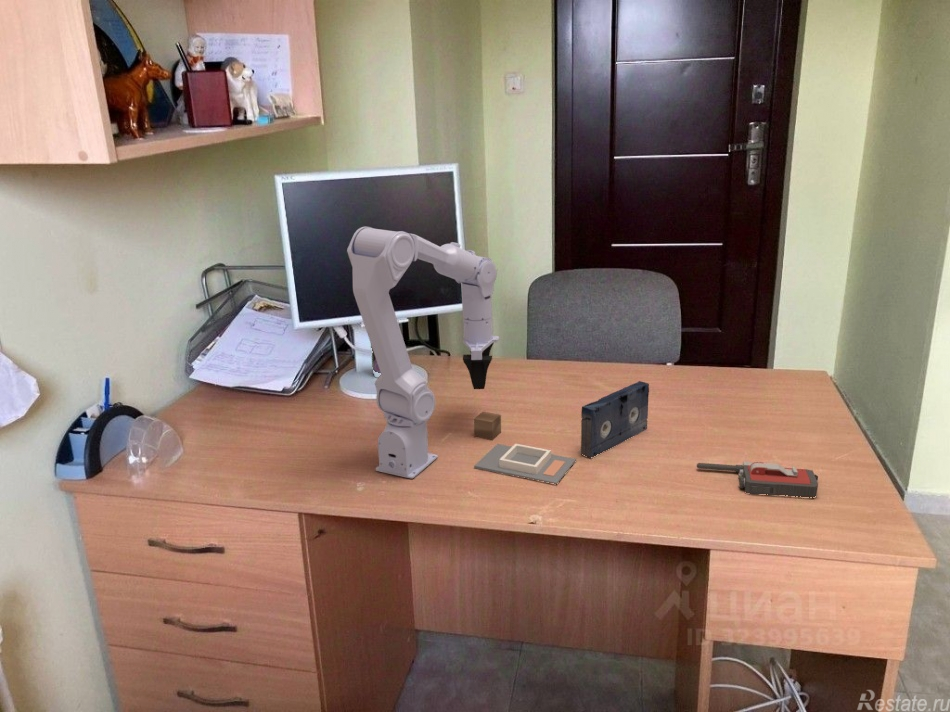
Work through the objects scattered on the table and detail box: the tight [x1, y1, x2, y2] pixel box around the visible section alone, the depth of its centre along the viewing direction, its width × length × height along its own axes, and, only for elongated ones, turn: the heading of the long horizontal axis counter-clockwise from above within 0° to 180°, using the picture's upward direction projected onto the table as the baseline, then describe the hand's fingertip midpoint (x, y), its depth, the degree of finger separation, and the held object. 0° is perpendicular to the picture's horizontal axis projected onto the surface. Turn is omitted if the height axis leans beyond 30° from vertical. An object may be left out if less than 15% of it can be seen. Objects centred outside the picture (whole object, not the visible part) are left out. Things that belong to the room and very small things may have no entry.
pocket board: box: [473, 443, 577, 484], centre depth 142 cm, size 10×16×2 cm, turn 63°
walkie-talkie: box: [696, 461, 819, 498], centre depth 134 cm, size 9×4×20 cm
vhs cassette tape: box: [580, 380, 650, 459], centre depth 150 cm, size 18×3×10 cm, turn 132°
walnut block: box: [473, 411, 502, 441], centre depth 155 cm, size 4×4×4 cm
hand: (480, 381), depth 157 cm, fingers open, 7 cm apart
